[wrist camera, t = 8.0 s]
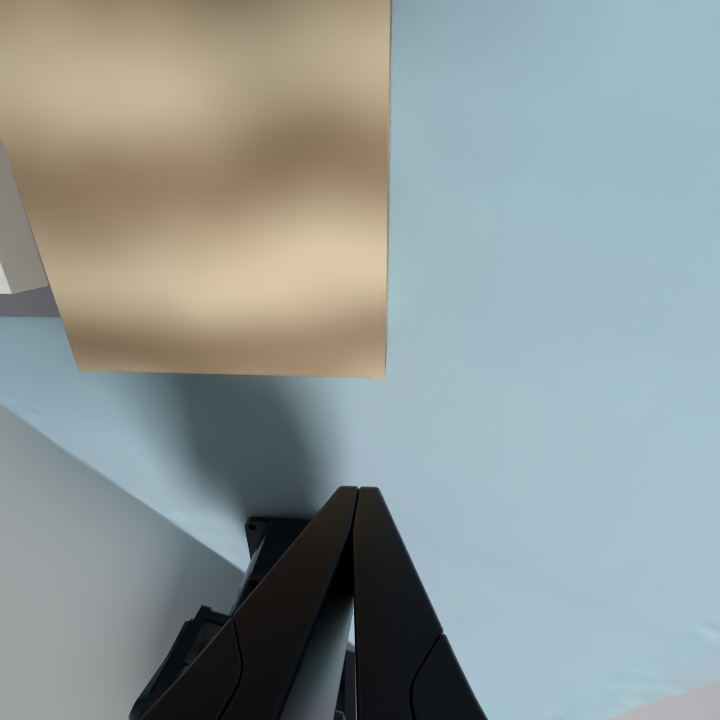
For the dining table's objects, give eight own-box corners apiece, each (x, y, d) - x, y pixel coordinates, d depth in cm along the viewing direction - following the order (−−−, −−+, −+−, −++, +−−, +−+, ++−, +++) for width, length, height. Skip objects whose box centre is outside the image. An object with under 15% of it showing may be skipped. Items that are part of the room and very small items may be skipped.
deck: (387, 345, 19) (385, 378, 15) (136, 341, 20) (78, 370, 17) (392, -36, 13) (391, -130, 10) (44, -10, 15) (-74, -84, 11)
